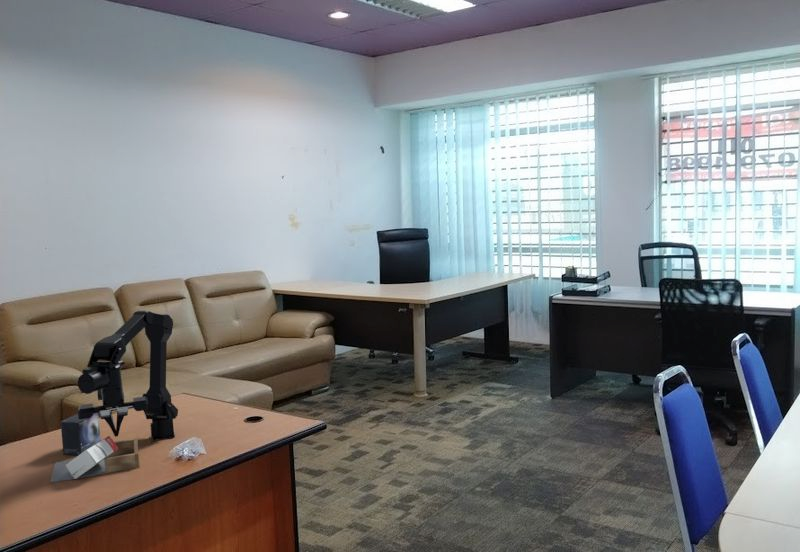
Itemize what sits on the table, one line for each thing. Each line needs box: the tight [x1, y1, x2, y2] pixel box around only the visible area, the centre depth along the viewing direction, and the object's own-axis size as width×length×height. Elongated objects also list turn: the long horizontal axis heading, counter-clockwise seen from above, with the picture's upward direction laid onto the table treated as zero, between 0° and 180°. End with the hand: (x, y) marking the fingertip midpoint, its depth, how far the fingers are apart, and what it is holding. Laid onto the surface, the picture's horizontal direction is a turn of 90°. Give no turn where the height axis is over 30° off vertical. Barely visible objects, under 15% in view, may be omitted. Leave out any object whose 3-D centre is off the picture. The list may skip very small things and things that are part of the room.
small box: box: [60, 413, 101, 456], centre depth 221 cm, size 11×6×10 cm, turn 168°
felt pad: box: [49, 459, 107, 484], centre depth 205 cm, size 14×16×1 cm
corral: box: [104, 437, 140, 474], centre depth 209 cm, size 9×15×4 cm, turn 21°
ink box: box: [65, 435, 118, 480], centre depth 201 cm, size 9×5×12 cm
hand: (116, 436), depth 208 cm, fingers closed
